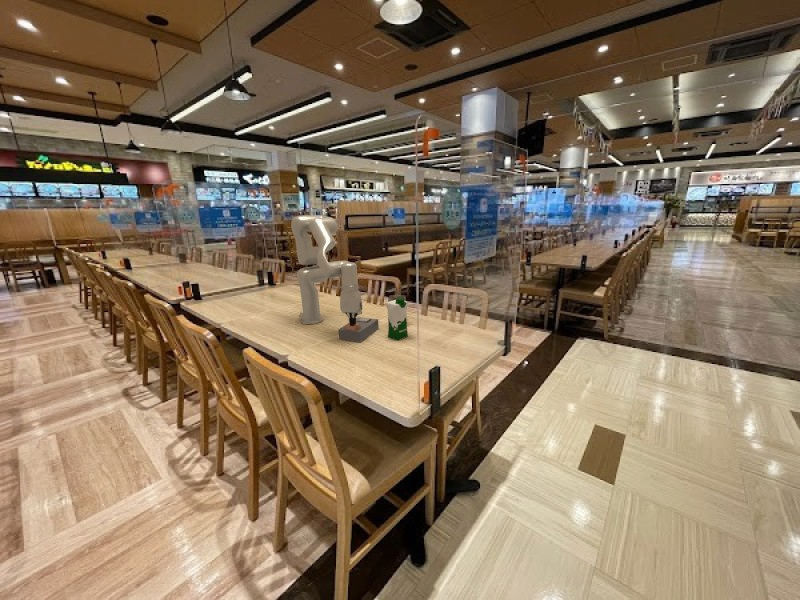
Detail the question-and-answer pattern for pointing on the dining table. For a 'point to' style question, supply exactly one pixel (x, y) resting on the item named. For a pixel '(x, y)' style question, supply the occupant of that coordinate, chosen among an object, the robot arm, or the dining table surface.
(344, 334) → the button box
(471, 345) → the dining table surface
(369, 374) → the dining table surface
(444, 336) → the dining table surface
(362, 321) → the metal plunger
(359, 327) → the terracotta plunger
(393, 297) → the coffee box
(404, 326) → the milk carton
